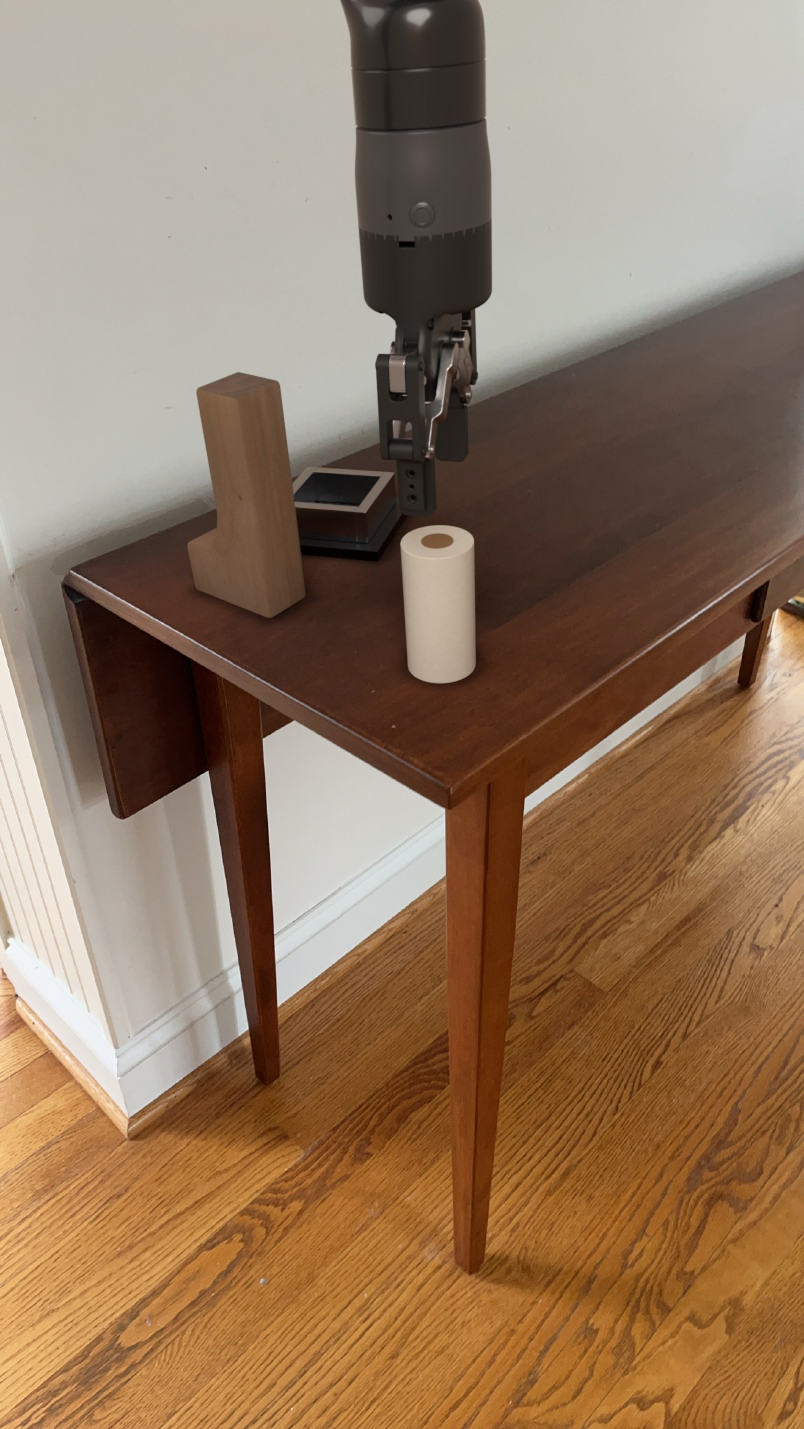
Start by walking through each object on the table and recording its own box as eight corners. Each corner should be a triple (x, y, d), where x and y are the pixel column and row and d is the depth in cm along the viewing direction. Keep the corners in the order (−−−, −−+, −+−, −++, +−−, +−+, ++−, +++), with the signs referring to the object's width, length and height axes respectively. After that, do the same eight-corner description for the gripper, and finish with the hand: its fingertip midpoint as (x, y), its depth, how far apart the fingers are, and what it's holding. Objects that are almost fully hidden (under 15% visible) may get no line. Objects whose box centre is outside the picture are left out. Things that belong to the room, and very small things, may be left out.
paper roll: (399, 679, 74) (391, 554, 68) (418, 642, 78) (411, 521, 72) (466, 687, 73) (464, 560, 67) (482, 650, 76) (481, 527, 70)
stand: (261, 550, 92) (254, 509, 89) (304, 499, 100) (300, 460, 98) (378, 561, 89) (374, 519, 86) (412, 507, 97) (410, 467, 95)
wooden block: (193, 590, 86) (151, 377, 76) (232, 569, 89) (197, 360, 78) (270, 621, 81) (236, 398, 71) (308, 597, 84) (281, 379, 74)
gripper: (396, 191, 64) (410, 441, 73) (318, 244, 53) (346, 529, 62) (515, 189, 62) (513, 447, 71) (459, 244, 51) (466, 539, 60)
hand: (435, 485), depth 67 cm, fingers open, 8 cm apart
